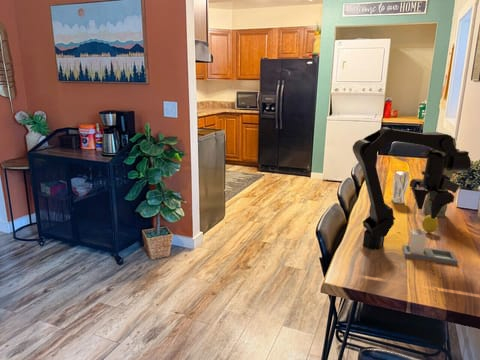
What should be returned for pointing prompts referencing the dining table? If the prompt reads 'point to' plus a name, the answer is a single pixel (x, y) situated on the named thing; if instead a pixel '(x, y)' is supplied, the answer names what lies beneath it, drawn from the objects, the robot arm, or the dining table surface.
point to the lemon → (430, 224)
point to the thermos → (448, 174)
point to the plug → (417, 242)
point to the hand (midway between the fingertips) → (426, 213)
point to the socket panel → (432, 255)
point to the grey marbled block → (400, 186)
